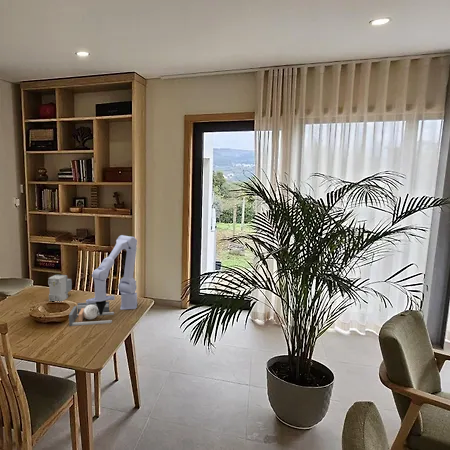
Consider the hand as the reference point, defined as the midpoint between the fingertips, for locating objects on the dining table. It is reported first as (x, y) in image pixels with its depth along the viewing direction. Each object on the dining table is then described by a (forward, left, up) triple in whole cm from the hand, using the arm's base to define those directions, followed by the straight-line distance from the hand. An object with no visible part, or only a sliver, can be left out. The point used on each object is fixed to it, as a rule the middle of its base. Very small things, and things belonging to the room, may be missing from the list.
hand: (100, 314), depth 175 cm
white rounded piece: (+5, -2, -3) cm, 6 cm away
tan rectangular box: (+10, 0, -3) cm, 10 cm away
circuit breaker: (+29, -37, -3) cm, 47 cm away
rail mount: (+4, -2, -3) cm, 6 cm away
